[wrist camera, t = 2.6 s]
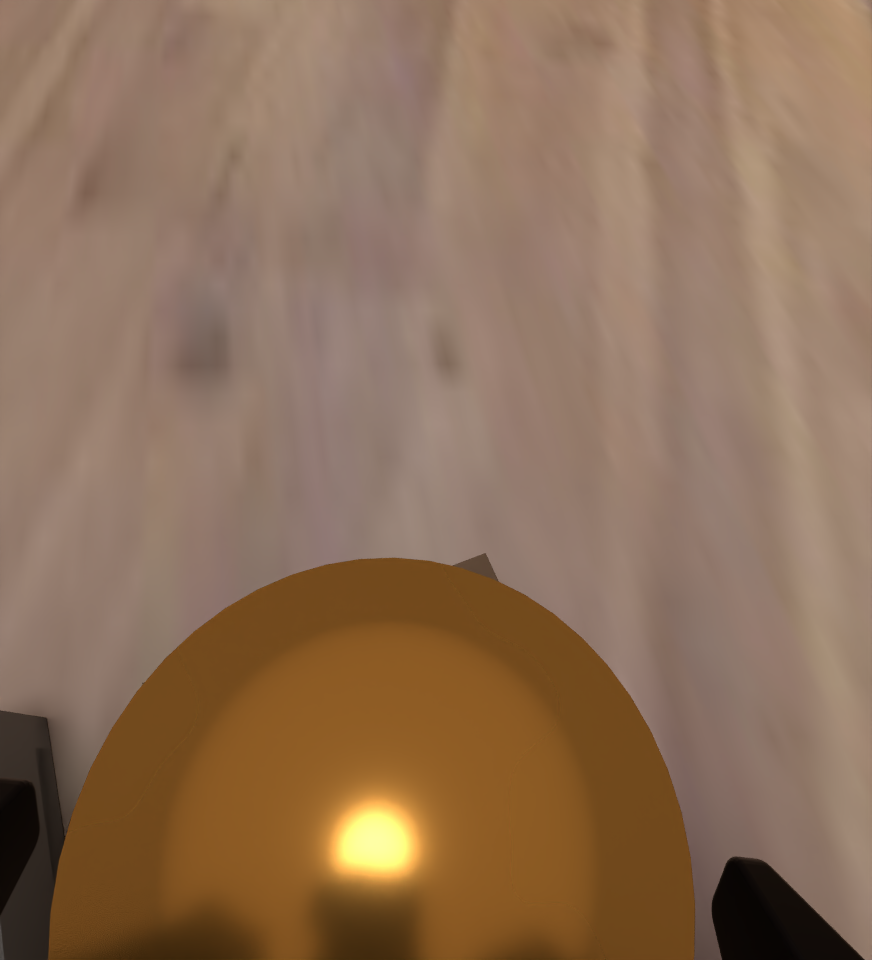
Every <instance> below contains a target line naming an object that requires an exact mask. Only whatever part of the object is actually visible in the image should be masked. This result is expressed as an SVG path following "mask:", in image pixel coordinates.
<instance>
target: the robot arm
mask: <svg viewBox="0 0 872 960" xmlns="http://www.w3.org/2000/svg"><path fill="white" fill-rule="evenodd" d="M39 834H40V820H39V812H38V804H37V797H36V789H35V785H34V784H33V783H32V782H31V781H30V780H26V779H17V778H8V777H1V778H0V916H1V914H2V912H3V910H4V908H5V906H6V904H7V902H8V900H9V898H10V896H11V894H12V892H13V891H14V889H15V887H16V885H17V883H18V881H19V879H20V877H21V875H22V873H23V871H24V869H25V867H26V865H27V863H28V861H29V859H30V857H31V855H32V853H33V851H34V849H35V847H36V844H37V842H38V838H39ZM712 918H713V923H714V927H715V932H716V936H717V940H718V944H719V948H720V953H721V957H722V960H864V959H863V958H862V957H861V956H860V955H859V954H858V953H857V952H856V951H855V950H854V949H853V948H852V947H851V946H850V945H849V944H848V943H847V942H846V941H845V940H844V939H843V938H842V937H841V936H840V935H839V934H838V933H837V932H836V931H835V930H834V929H833V928H832V927H831V926H830V925H829V924H828V923H827V922H826V921H825V920H824V919H823V918H822V917H821V916H820V915H819V914H818V913H817V912H816V911H815V910H814V909H813V908H812V907H811V906H810V905H809V904H808V903H807V902H806V901H805V900H804V899H803V898H802V897H801V896H800V895H799V894H798V893H797V892H796V891H795V890H794V889H793V888H792V887H791V886H790V885H789V884H788V883H787V882H786V881H785V880H784V879H783V878H782V877H781V876H780V875H779V874H778V873H777V872H776V871H775V870H774V869H773V868H772V867H771V866H769V865H768V864H767V863H766V862H764V861H762V860H759V859H754V858H744V857H732V858H730V859H729V860H728V861H727V863H726V865H725V868H724V871H723V873H722V876H721V878H720V881H719V884H718V886H717V889H716V891H715V894H714V897H713V900H712Z"/></svg>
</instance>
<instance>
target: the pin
mask: <svg viewBox="0 0 872 960" xmlns="http://www.w3.org/2000/svg"><path fill="white" fill-rule="evenodd" d="M694 937H695V900H694V889H693V878H692V868H691V857H690V852H689V847H688V842H687V837H686V832H685V828H684V823H683V818H682V813H681V809H680V806H679V803H678V800H677V797H676V794H675V791H674V787H673V784H672V781H671V778H670V775H669V772H668V769H667V767H666V764H665V762H664V760H663V758H662V755H661V753H660V751H659V749H658V746H657V744H656V742H655V740H654V737H653V735H652V733H651V731H650V729H649V727H648V726H647V724H646V722H645V720H644V719H643V717H642V715H641V713H640V712H639V710H638V708H637V707H636V705H635V703H634V701H633V700H632V698H631V696H630V695H629V694H628V692H627V691H626V690H625V688H624V687H623V685H622V684H621V683H620V681H619V680H618V679H617V677H616V676H615V675H614V673H613V672H612V671H611V669H610V668H609V667H608V665H607V664H606V663H605V662H604V661H603V660H602V659H601V658H600V657H599V656H598V654H597V653H596V652H595V651H594V650H593V649H592V648H591V647H590V646H589V645H588V644H587V643H586V642H585V641H584V639H583V638H582V637H580V636H579V635H578V634H577V633H576V632H575V631H573V630H572V629H571V628H570V627H569V626H567V625H566V624H565V623H564V622H563V621H562V620H560V619H559V618H558V617H557V616H556V615H554V614H553V613H552V612H550V611H549V610H547V609H546V608H544V607H542V606H541V605H539V604H538V603H536V602H535V601H533V600H532V599H530V598H529V597H527V596H526V595H524V594H522V593H520V592H518V591H516V590H514V589H512V588H510V587H508V586H506V585H504V584H502V583H500V582H498V581H496V580H494V579H491V578H489V577H486V576H483V575H480V574H477V573H474V572H471V571H469V570H466V569H463V568H459V567H455V566H450V565H445V564H441V563H436V562H432V561H425V560H414V559H402V558H377V559H358V560H352V561H346V562H340V563H334V564H328V565H324V566H320V567H317V568H313V569H310V570H307V571H303V572H300V573H296V574H293V575H290V576H288V577H286V578H283V579H281V580H279V581H276V582H274V583H272V584H269V585H267V586H265V587H262V588H260V589H258V590H256V591H254V592H253V593H251V594H249V595H248V596H246V597H244V598H242V599H241V600H239V601H237V602H235V603H234V604H232V605H230V606H228V607H227V608H225V609H224V610H223V611H221V612H220V613H219V614H217V615H216V616H214V617H213V618H212V619H210V620H209V621H208V622H206V623H205V624H204V625H202V626H201V627H200V628H198V629H197V630H196V631H194V632H193V633H192V634H191V635H190V636H189V637H188V638H187V639H186V640H185V641H184V642H183V643H181V644H180V645H179V646H178V647H177V648H176V649H175V650H174V651H173V652H172V653H171V654H170V655H169V656H168V657H167V658H165V659H164V661H163V662H162V663H161V664H160V665H159V666H158V668H157V669H156V670H155V671H154V672H153V673H152V675H151V676H150V677H149V678H148V679H147V680H146V682H145V683H144V684H143V685H142V686H141V687H140V689H139V690H138V691H137V692H136V694H135V695H134V697H133V698H132V700H131V701H130V703H129V704H128V706H127V707H126V708H125V710H124V711H123V713H122V714H121V716H120V717H119V719H118V720H117V722H116V723H115V725H114V726H113V727H112V729H111V731H110V733H109V735H108V737H107V739H106V740H105V742H104V744H103V746H102V748H101V750H100V752H99V754H98V755H97V757H96V759H95V761H94V763H93V765H92V767H91V768H90V771H89V773H88V776H87V778H86V781H85V783H84V786H83V788H82V791H81V793H80V796H79V798H78V801H77V803H76V806H75V808H74V811H73V813H72V817H71V820H70V824H69V827H68V831H67V834H66V838H65V841H64V845H63V849H62V852H61V856H60V859H59V864H58V870H57V876H56V882H55V888H54V894H53V900H52V906H51V913H50V932H49V952H48V960H694Z"/></svg>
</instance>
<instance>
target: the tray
mask: <svg viewBox="0 0 872 960" xmlns="http://www.w3.org/2000/svg"><path fill="white" fill-rule="evenodd" d="M1 777H8V778H17V779H26V780H30V781H31V782H32V783H33V784H34V785H35V789H36V797H37V804H38V812H39V820H40V834H39V838H38V842H37V844H36V847H35V849H34V851H33V853H32V855H31V857H30V859H29V861H28V863H27V865H26V867H25V869H24V871H23V873H22V875H21V877H20V879H19V881H18V883H17V885H16V887H15V889H14V891H13V892H12V894H11V896H10V898H9V900H8V902H7V904H6V906H5V908H4V910H3V912H2V914H1V916H0V960H48V952H49V932H50V913H51V906H52V900H53V894H54V888H55V882H56V876H57V870H58V864H59V859H60V856H61V852H62V849H63V845H64V841H65V840H64V833H63V826H62V820H61V813H60V806H59V800H58V793H57V786H56V779H55V773H54V766H53V759H52V753H51V746H50V739H49V733H48V726H47V719H46V718H44V717H38V716H31V715H25V714H19V713H13V712H6V711H0V778H1Z"/></svg>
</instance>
